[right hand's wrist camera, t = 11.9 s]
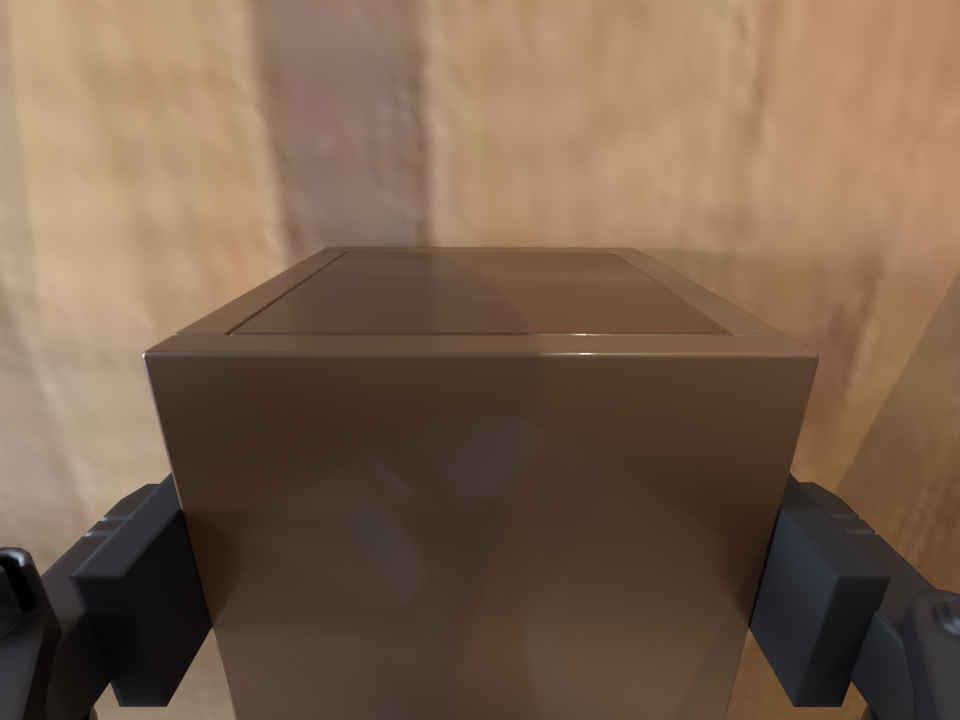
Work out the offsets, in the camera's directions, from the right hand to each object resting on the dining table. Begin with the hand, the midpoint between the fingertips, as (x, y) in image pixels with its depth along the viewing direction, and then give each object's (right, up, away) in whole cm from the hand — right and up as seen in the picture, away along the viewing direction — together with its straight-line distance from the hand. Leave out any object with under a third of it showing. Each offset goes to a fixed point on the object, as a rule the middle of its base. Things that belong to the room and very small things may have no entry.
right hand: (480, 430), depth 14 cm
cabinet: (0, -4, +7) cm, 8 cm away
